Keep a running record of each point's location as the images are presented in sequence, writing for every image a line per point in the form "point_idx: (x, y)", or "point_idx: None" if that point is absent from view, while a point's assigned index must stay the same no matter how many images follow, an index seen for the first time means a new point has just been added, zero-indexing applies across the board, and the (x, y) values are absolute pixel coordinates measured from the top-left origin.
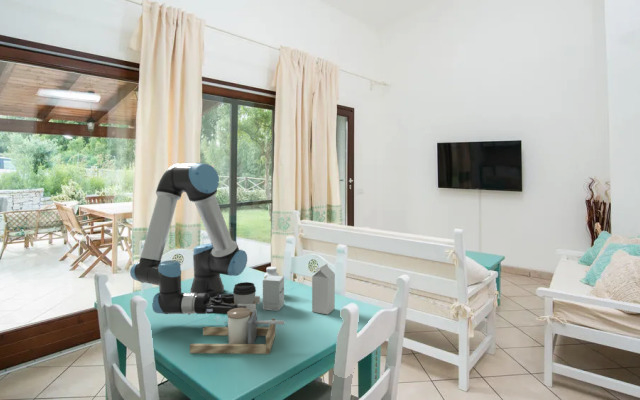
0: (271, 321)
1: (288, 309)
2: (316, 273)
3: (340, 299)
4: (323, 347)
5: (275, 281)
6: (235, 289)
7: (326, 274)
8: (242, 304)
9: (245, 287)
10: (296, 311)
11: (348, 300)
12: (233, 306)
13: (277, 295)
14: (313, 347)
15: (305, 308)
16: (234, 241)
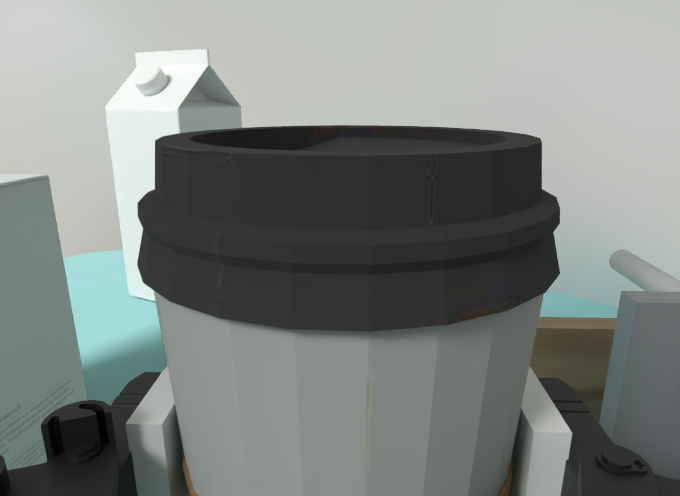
0: (674, 278)
1: (96, 383)
2: (180, 92)
3: (89, 260)
4: (558, 294)
5: (21, 186)
6: (507, 202)
7: (216, 92)
8: (537, 383)
9: (427, 145)
10: (155, 354)
11: (117, 250)
12: (653, 494)
13: (61, 309)
14: (575, 310)
15: (128, 329)
16: None
